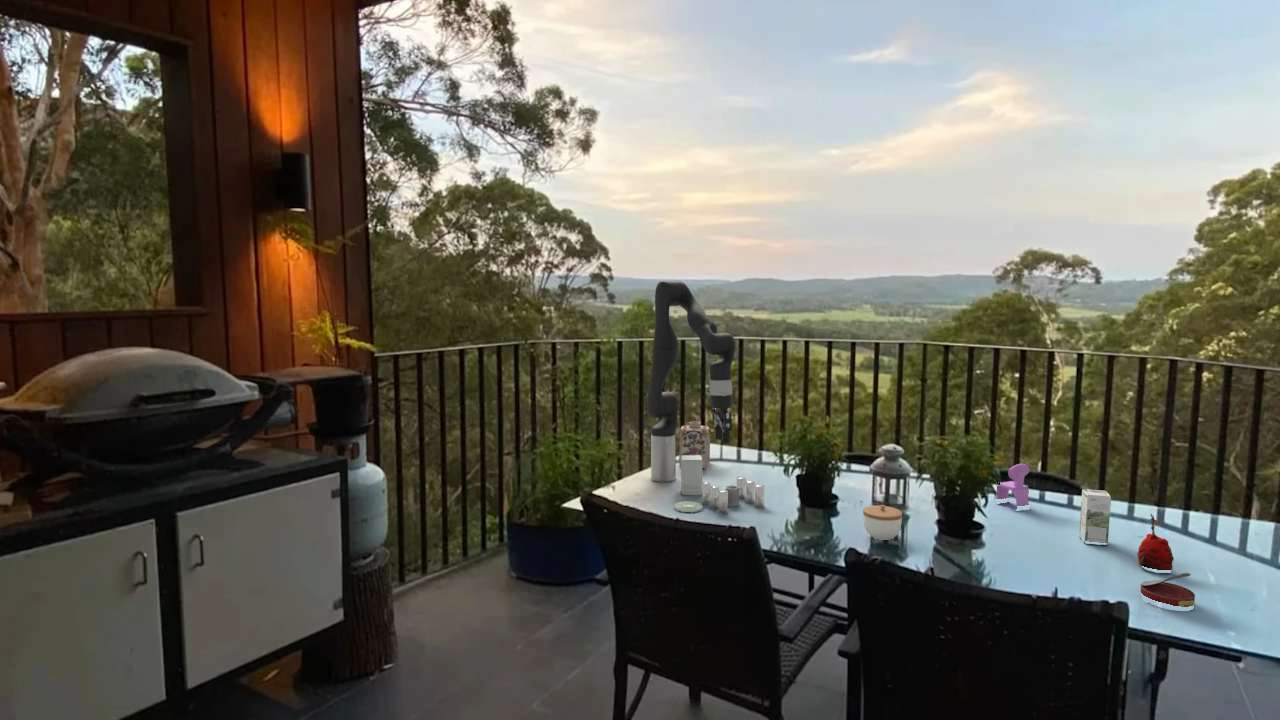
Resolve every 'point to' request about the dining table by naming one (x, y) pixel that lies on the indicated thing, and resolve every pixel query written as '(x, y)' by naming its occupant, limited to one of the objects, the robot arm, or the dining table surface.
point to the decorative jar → (695, 442)
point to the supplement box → (691, 474)
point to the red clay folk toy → (1155, 551)
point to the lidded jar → (882, 521)
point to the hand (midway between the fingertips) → (722, 441)
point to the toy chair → (1015, 485)
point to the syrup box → (1095, 515)
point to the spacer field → (721, 496)
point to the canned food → (1168, 592)
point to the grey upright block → (733, 495)
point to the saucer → (688, 506)
